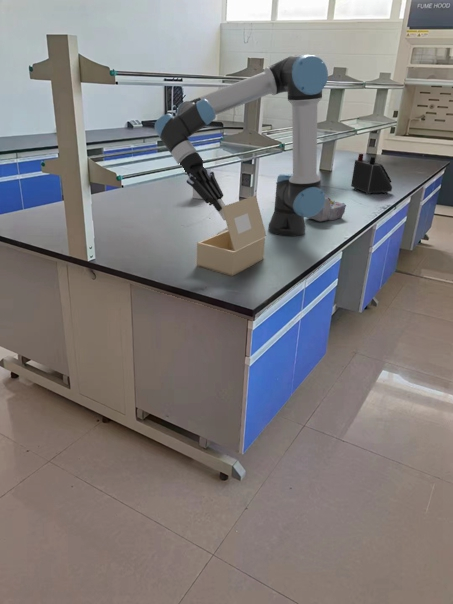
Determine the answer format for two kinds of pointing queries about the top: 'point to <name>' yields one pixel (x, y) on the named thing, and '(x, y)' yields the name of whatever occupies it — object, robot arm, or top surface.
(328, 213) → the grey rock
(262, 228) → the lid
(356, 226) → the top surface
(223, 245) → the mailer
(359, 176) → the voltmeter
